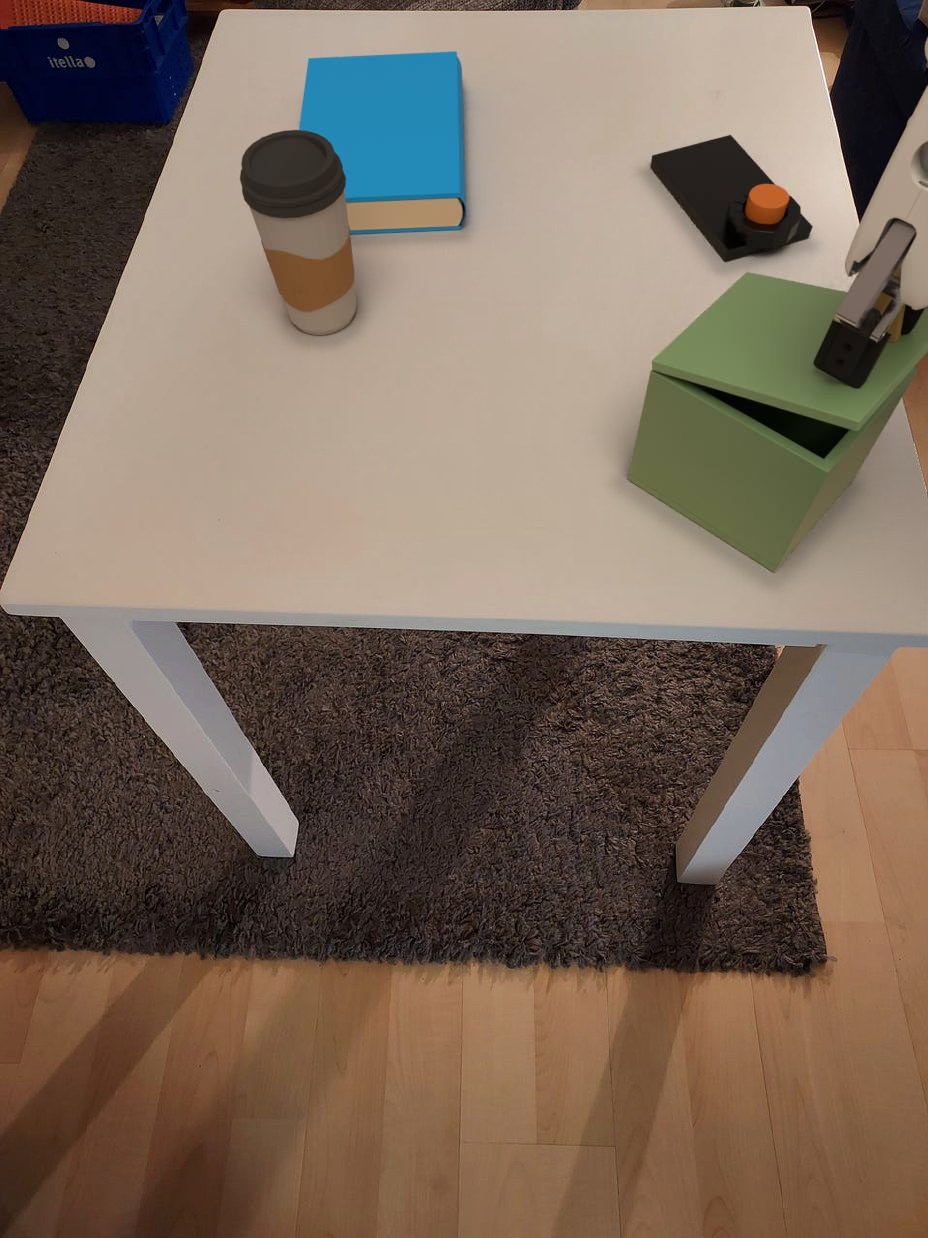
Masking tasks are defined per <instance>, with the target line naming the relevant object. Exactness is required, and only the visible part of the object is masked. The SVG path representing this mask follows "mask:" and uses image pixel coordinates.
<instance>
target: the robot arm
mask: <svg viewBox="0 0 928 1238" xmlns="http://www.w3.org/2000/svg"><path fill="white" fill-rule="evenodd" d="M924 55H925V58H926V61H927V62H928V37H926V40H925V44H924ZM896 144H897V145H896V147H895V148H894V151H893V152H892V155H891V156H890V159H889V161H888V163H887V165H886V167H885V169H884V171H883V173H882V175H881V177H880V179H879V181H878V184H877V185H876V188H875V190H874V192H873V194H872V196H871V199H870V200H869V202H868V205H867V207H866V209H865V212H864V214H863V216H862V217H861V220H860V222H859V224H858V227H857V230H856V231H855V234H854V237H853V239H852V241H851V244H850V246H849V249H848V252H847V255H846V257H845V261H844V270H845V273H846V276H847V277H848V278H851V277H853V276H854V275H855V277H854V280H853V281H852V283H851V285H850V287H849V289H848V290H847V291H846V292H847V294H846V296H845V298H844V300H843V302H842V303H841V305H840V306H839V308H838V310H837V311H836V314H835V316H834V318H833V320H832V322H831V325H830V327H829V329H828V331H827V333H826V335H825V338H824V340H823V342H822V344H821V346H820V348H819V350H818V353H817V355H816V357H815V359H814V366H815V367H816V368H818V369H819V370H821V371H823V372H825V373H827V374H829V375H830V376H832V377H834V378H836V379H838V380H839V381H841V382H843V383H845V384H847V385H849V386H850V387H852V388H855V389H859V388H861V386H862V385H863V384H864V383H865V382H866V380H867V379H868V377H869V375H870V373H871V371H872V369H873V368H874V366H875V364H876V362H877V360H878V359H879V357H880V355H881V353H882V351H883V350H884V348H885V346H886V344H887V342H888V341H889V339H890V337H891V334H890V333H888V332H887V331H888V329H889V327H890V326H891V324H892V323H893V321H894V319H895V318H896V316H897V314H898V313H899V311H900V309H901V308H902V306H903V304H906V306H905V311H904V317H903V323H902V328H901V334H902V335H907V334H909V333H910V332H911V331H912V330H913V329H914V327H915V326H916V324H917V322H918V320H919V319H920V317H921V315H922V313H923V312H924V310H925V308H928V85H926V87H925V90H924V91H923V92H922V96H921V97H920V99H919V101H918V103H917V105H916V106H915V109H914V111H913V113H912V115H911V116H910V117H909V118H908V120H907V122H906V127H905V129H904V131H903V132H902V135H901V136H900V139H899V141H898V143H896ZM897 269H898V270H900V271H901V279H900V278H898V277H896V276H894V275H893V274H894V273H895V271H896V270H897ZM881 292H883V293H885V294H887V295H889V296H891V297H893V298H892V299H891V301H890V302H889V304H888V306H887V307H886V309H885V311H884V313H883V314H882V316H881V313H880V311H879V310H877V309H875V308H874V304H875V302H876V300H877V298H878V297H879V295H880V294H881Z"/></svg>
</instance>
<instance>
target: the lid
mask: <svg viewBox="0 0 928 1238" xmlns="http://www.w3.org/2000/svg"><path fill="white" fill-rule="evenodd" d="M893 275H894V276H896V277H898V278H900V279H901V271H900V270H898V269H897V270H896V271H895V273H894V274H893ZM847 292H848V291H843V290H839V289H833V288H829V287H823V286H819V285H815V284H808V283H804V282H798V281H794V280H790V279H784V278H780V277H775V276H769V275H765V274H761V273H760V274H759V273H756V272H755V273H754V272H750V271H746V272H744V274H743V275H742V276H740V277H739V278H738V279H737V280H736V281H735V282H734V283H733V284H732V285H731V286H729V288H727V290H726V291H724V293H722V294H721V295H720V296H719V297H718V298H717V299H716V300H715V301H714V302H713V303H711V305H710V306H709V307H707V308H706V309H705V310H704V311H703V312H702V313H701V314H700V315H699V316H698V317H697V318H696V319H695V320H694V321H693V322H691V323H690V324H689V325H688V326H687V327H686V328H685V329H684V330H683V331H682V332H681V333H680V334H678V335H677V337H675V338H674V339H672V340H671V342H670V343H669V344H668V345H666V346H665V347H664V349H662V350H661V351H660V352H659V353H658V354H657V355H656V356H655V357H654V358H652V360H651V370H654V371H657V372H660V373H664V374H667V375H670V376H674V377H677V378H680V379H684V380H687V381H690V382H694V383H697V384H700V385H704V386H707V387H710V388H714V389H717V390H720V391H724V392H727V393H730V394H734V395H737V396H740V397H744V398H747V399H750V400H754V401H757V402H760V403H764V404H767V405H770V406H774V407H777V408H780V409H784V410H787V411H790V412H794V413H797V414H800V415H804V416H807V417H810V418H814V419H817V420H820V421H824V422H827V423H830V424H834V425H837V426H840V427H844V428H847V429H850V430H854V431H859V429H860V428H861V427H862V426H863V425H864V424H865V423H866V421H867V420H868V419H869V418H870V417H871V416H872V415H873V413H874V412H875V411H876V410H877V409H878V408H879V407H880V405H881V404H882V403H883V402H884V401H885V400H886V399H887V397H888V396H889V395H890V394H891V393H892V392H893V391H894V389H895V388H896V387H897V386H898V385H899V384H900V383H901V381H902V380H903V379H904V378H905V377H906V376H907V374H908V373H909V372H910V371H911V370H912V369H913V368H914V367H915V366H917V364H918V363H919V362H920V361H921V359H923V358H924V356H925V355H926V354H927V353H928V307H926V308H925V310H924V312H923V313H922V315H921V317H920V319H919V320H918V322H917V324H916V326H915V327H914V329H913V330H912V331H911V332H910V333H909V334H907V335H902V334H901V328H902V323H903V317H904V311H905V306H906V304H903V306H902V308H901V309H900V311H899V313H898V314H897V316H896V318H895V319H894V321H893V323H892V324H891V326H890V327H889V329H888V331H887V332H888V333H890V334H891V337H890V339H889V341H888V342H887V344H886V346H885V348H884V350H883V351H882V353H881V355H880V357H879V359H878V360H877V362H876V364H875V366H874V368H873V369H872V371H871V373H870V375H869V377H868V379H867V380H866V382H865V383H864V384H863V385H862V386H861V388H859V389H855V388H852V387H850V386H849V385H847V384H845V383H843V382H841V381H839V380H838V379H836V378H834V377H832V376H830V375H829V374H827V373H825V372H823V371H821V370H819V369H818V368H816V367H815V366H814V359H815V357H816V355H817V353H818V350H819V348H820V346H821V344H822V342H823V340H824V338H825V335H826V333H827V331H828V329H829V327H830V325H831V322H832V320H833V318H834V316H835V314H836V311H837V310H838V308H839V306H840V305H841V303H842V302H843V300H844V298H845V296H846V294H847ZM892 298H893V297H891V296H889V295H887V294H885V293H883V292H881V294H880V295H879V297H878V298H877V300H876V302H875V304H874V308H875V309H877V310H879V311H880V313H881V316H882V314H883V313H884V311H885V309H886V307H887V306H888V304H889V302H890V301H891V299H892Z"/></svg>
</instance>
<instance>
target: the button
mask: <svg viewBox="0 0 928 1238" xmlns="http://www.w3.org/2000/svg"><path fill="white" fill-rule="evenodd" d="M789 195H790V194H789V193H788V191H787V190H786V189H785V188H784V187H782V186H780V185H777V184H775V185H773V184H761V185H757V186H755V187H754V188H752V190H751V191H750V193H749V197H748V200H747V204H746V207H745V214H746V216H747V218H748V219H750V220H752V221H755V222H757V223H759V224H774V223H777V222H779V221H780V220H782V218H783V217H784V214H785V210H786V207H787V204H788V201H789Z"/></svg>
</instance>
